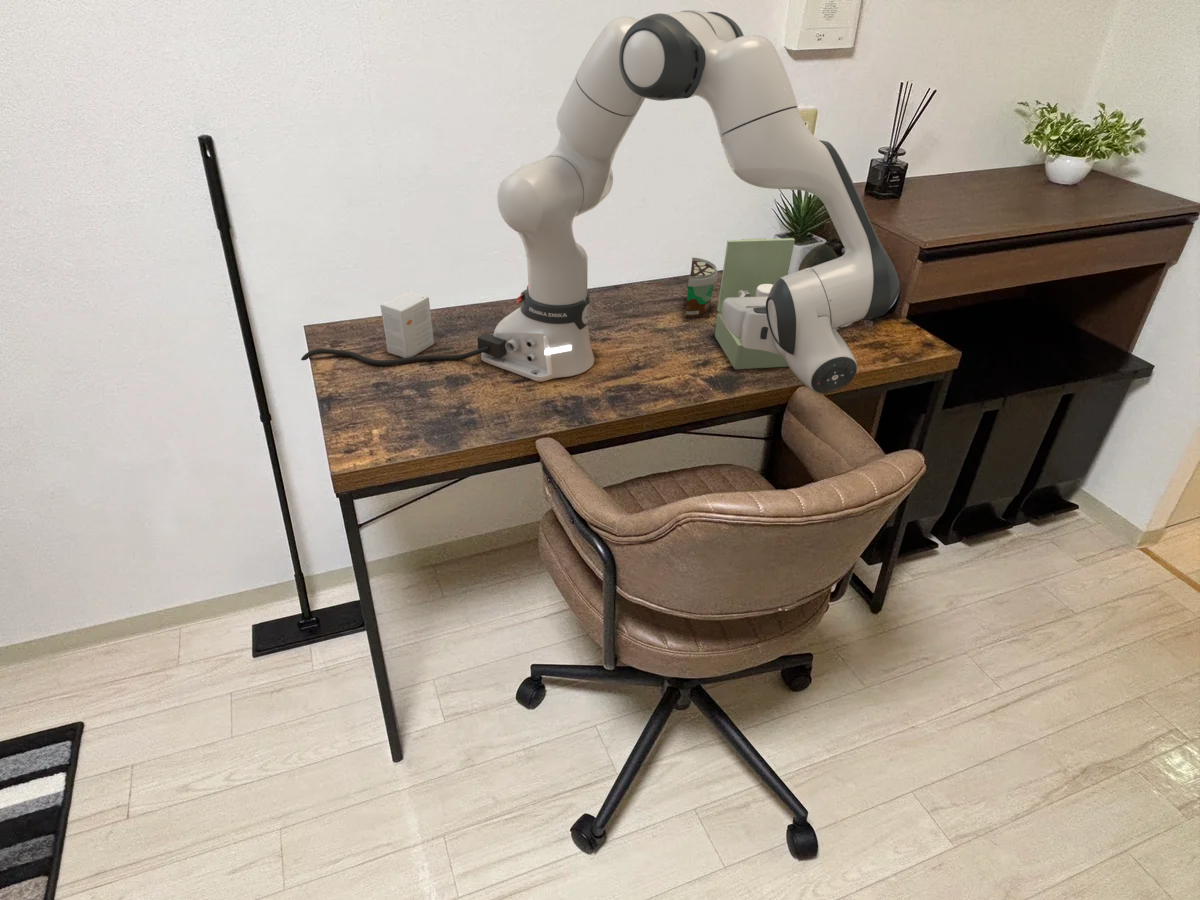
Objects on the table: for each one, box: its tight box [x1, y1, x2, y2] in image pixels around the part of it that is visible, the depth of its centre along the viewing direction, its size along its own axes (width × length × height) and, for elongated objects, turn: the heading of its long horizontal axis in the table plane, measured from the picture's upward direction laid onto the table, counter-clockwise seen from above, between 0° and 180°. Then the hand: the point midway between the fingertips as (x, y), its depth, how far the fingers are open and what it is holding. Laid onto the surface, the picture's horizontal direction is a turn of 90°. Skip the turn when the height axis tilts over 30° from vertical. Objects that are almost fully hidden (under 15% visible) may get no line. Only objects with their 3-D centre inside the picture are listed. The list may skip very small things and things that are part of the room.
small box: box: [380, 290, 435, 358], centre depth 152 cm, size 8×6×10 cm
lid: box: [717, 237, 796, 313], centre depth 158 cm, size 15×14×5 cm
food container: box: [684, 257, 719, 319], centre depth 171 cm, size 12×6×10 cm, turn 171°
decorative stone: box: [797, 243, 839, 271], centre depth 172 cm, size 10×6×15 cm, turn 104°
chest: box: [714, 312, 789, 370], centre depth 157 cm, size 15×14×5 cm
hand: (768, 293), depth 136 cm, fingers open, 8 cm apart
